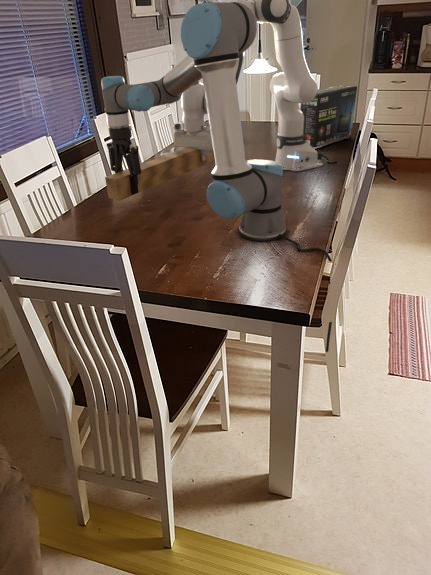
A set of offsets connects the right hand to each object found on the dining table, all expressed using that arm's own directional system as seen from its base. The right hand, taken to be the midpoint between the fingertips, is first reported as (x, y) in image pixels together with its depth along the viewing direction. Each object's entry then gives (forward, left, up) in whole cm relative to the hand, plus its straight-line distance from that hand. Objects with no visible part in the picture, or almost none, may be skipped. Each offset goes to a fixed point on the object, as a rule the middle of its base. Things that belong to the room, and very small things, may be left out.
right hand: (196, 159), depth 194 cm
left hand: (+32, +24, -2) cm, 40 cm away
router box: (-80, -32, -9) cm, 87 cm away
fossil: (-1, -37, -9) cm, 39 cm away
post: (+16, +12, -3) cm, 20 cm away
